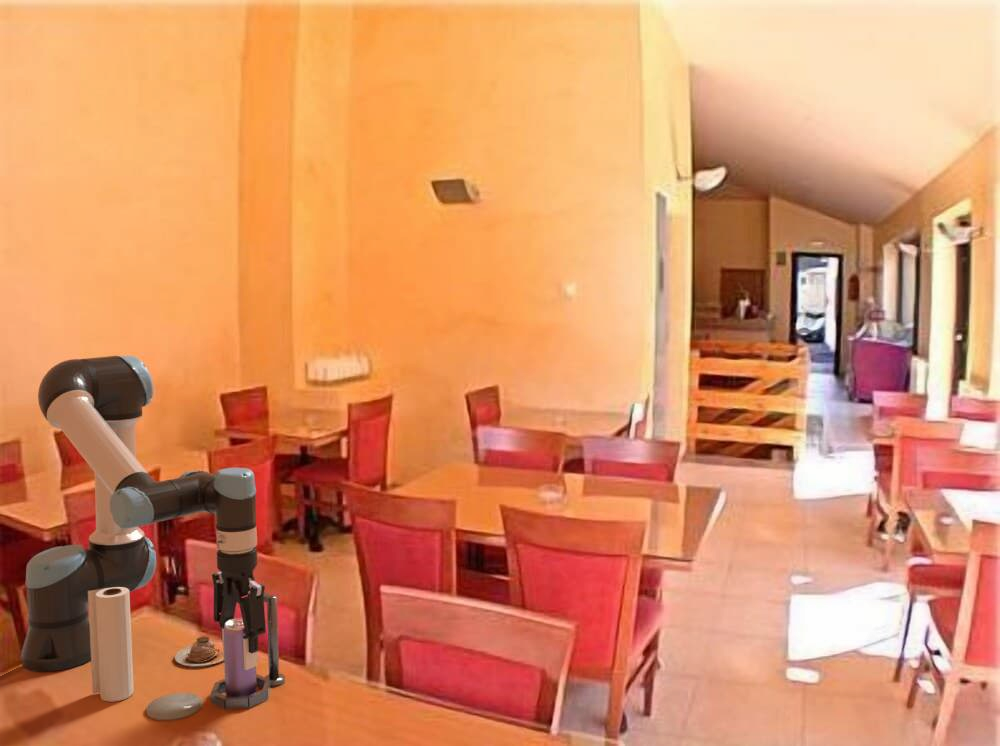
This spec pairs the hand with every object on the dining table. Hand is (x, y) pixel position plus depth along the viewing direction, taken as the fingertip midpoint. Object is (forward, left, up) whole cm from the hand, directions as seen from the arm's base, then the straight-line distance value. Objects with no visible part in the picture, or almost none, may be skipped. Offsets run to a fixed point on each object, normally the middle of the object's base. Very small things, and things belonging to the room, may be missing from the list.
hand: (240, 662), depth 179 cm
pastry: (-22, +6, -8) cm, 24 cm away
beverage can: (0, 0, -7) cm, 7 cm away
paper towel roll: (-20, -15, -7) cm, 26 cm away
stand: (0, +2, -7) cm, 7 cm away
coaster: (-6, -11, -7) cm, 14 cm away
